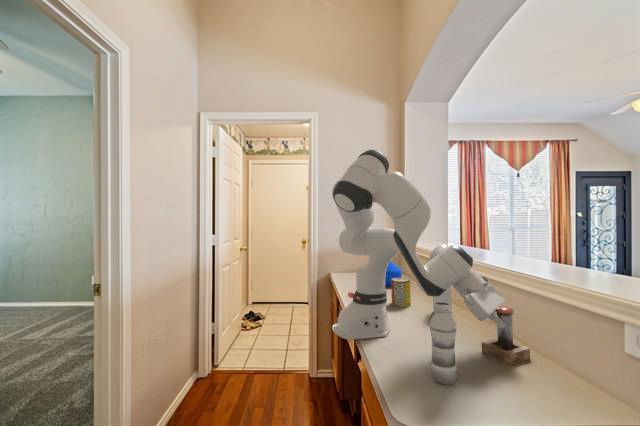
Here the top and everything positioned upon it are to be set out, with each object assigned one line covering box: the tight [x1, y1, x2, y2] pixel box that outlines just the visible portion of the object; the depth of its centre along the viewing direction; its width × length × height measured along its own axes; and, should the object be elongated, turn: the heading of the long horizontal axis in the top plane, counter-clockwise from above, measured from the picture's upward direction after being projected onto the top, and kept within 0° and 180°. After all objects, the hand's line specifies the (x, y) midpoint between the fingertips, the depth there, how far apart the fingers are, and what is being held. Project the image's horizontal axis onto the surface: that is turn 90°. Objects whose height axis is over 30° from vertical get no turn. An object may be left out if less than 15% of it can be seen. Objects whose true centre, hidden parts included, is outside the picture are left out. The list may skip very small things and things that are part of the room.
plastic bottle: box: [429, 302, 459, 386], centre depth 75 cm, size 6×7×20 cm
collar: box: [481, 338, 531, 366], centre depth 89 cm, size 9×9×3 cm
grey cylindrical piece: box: [495, 305, 515, 348], centre depth 88 cm, size 5×5×11 cm
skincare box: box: [432, 285, 453, 317], centre depth 126 cm, size 8×7×16 cm
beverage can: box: [390, 277, 412, 308], centre depth 142 cm, size 9×9×12 cm
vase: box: [385, 260, 403, 287], centre depth 185 cm, size 18×18×19 cm
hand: (506, 324), depth 88 cm, fingers closed on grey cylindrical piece, 4 cm apart
